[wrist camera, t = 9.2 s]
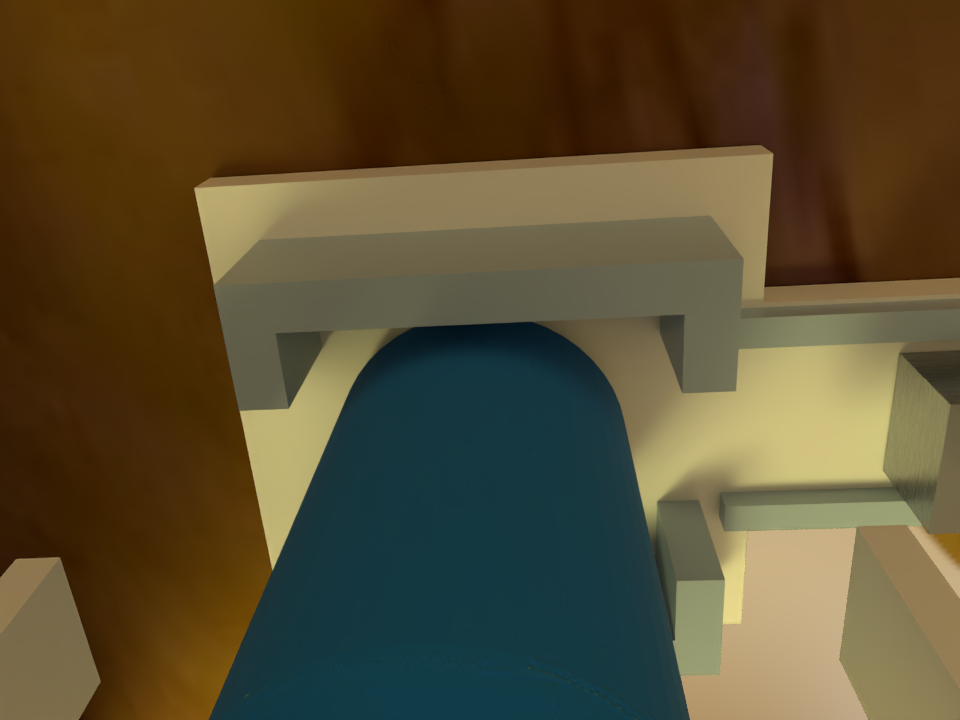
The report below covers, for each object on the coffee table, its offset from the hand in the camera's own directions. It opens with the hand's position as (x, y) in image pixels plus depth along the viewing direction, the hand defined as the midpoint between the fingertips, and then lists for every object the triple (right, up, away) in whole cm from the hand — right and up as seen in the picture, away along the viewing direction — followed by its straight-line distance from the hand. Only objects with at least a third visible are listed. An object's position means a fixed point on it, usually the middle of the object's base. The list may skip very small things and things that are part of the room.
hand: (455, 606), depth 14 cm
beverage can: (0, +3, +6) cm, 7 cm away
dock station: (+6, +3, +6) cm, 9 cm away
